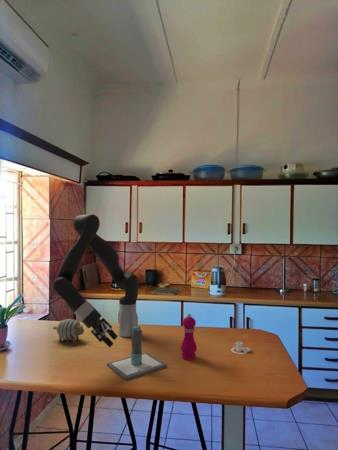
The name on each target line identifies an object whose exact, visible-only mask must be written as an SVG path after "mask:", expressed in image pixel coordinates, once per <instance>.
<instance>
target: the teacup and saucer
mask: <svg viewBox="0 0 338 450" xmlns="http://www.w3.org/2000/svg"><path fill="white" fill-rule="evenodd" d="M243 344H244V343H243V342H241V341H236V342H234V343H233V347H232V348H231V349H230V351H231V352H232V353H234V354H239V355H245V354H247V353H250V352H251V348H250V347H243ZM234 350H236V351H237V352H236V351H234Z"/></svg>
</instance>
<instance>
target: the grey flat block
mask: <svg viewBox="0 0 338 450" xmlns="http://www.w3.org/2000/svg"><path fill="white" fill-rule="evenodd" d="M106 366H107V367H108V368H109V369H111V370H112V371H113V372H114V373H115V374H117V375H118V376H119V377H121V379H123V380H124V381H125V382H126V381H128V380H131V379H134V378H138V377H141V376H143V375H144V376H145V375H147V374H150V373H153V372H156V371H159V370H162V369H165V368H168V367H167V366H168V365H167V364H166V363H165V362H163V361H161V360H159V359H158V358H157V357H154V356H153V355H151V354H150V353H149V352H147V351H145V352H142V364H141V365H139V366H133V365H131V356H128V357H125V358H120V359H117V360H113V361H109V362H107V363H106Z"/></svg>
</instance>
